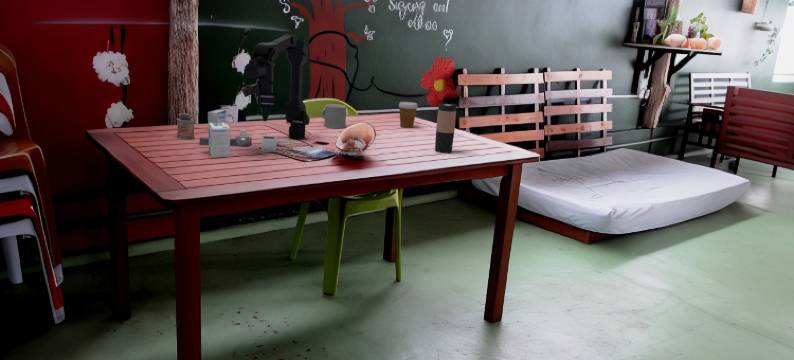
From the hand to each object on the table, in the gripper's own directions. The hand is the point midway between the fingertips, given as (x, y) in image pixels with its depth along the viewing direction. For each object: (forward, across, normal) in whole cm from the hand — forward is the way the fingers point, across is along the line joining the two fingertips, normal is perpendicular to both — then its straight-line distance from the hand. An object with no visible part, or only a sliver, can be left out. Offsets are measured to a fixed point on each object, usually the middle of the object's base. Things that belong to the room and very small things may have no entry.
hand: (264, 119), depth 230 cm
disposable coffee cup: (+10, -51, +72) cm, 89 cm away
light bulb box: (+13, +6, -16) cm, 22 cm away
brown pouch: (+12, -20, -30) cm, 38 cm away
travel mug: (+11, -1, +74) cm, 75 cm away
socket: (+12, 0, +2) cm, 12 cm away
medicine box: (+12, -36, -18) cm, 41 cm away
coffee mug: (+11, -50, +35) cm, 62 cm away
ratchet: (+12, -9, -14) cm, 21 cm away
